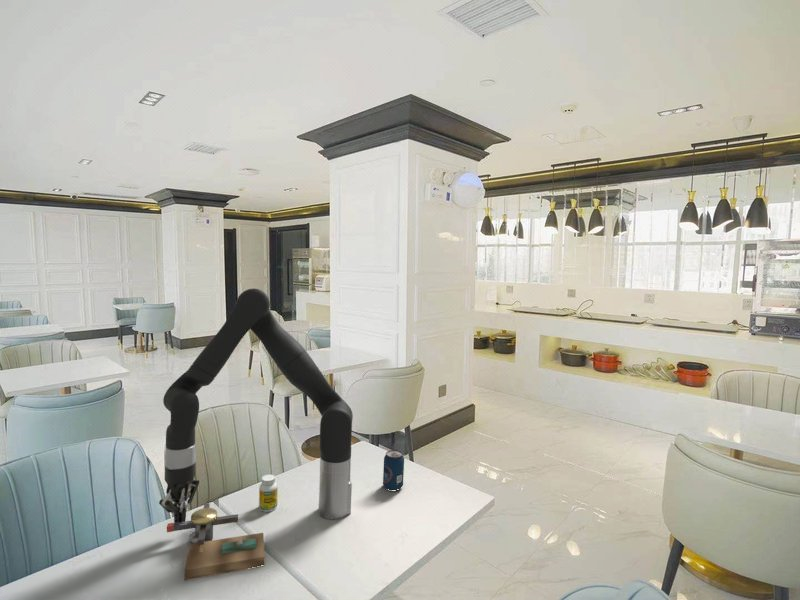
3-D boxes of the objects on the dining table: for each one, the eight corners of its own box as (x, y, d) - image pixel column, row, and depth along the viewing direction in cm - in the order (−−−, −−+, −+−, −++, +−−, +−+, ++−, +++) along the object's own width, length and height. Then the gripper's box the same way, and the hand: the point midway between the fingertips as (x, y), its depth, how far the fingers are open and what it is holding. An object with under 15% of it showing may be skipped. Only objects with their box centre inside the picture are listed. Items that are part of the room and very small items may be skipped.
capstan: (238, 517, 128) (238, 494, 127) (237, 554, 112) (237, 528, 112) (172, 526, 122) (172, 502, 122) (161, 566, 106) (161, 539, 106)
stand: (263, 541, 118) (263, 524, 118) (264, 566, 109) (264, 548, 108) (189, 553, 112) (189, 535, 112) (184, 580, 103) (184, 561, 102)
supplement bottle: (274, 501, 138) (274, 471, 137) (279, 509, 133) (280, 479, 133) (256, 505, 135) (257, 475, 134) (261, 514, 130) (262, 483, 130)
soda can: (378, 485, 150) (380, 451, 149) (395, 480, 154) (396, 447, 154) (390, 494, 145) (391, 459, 144) (407, 489, 149) (408, 454, 148)
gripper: (185, 449, 124) (185, 507, 126) (149, 470, 112) (149, 534, 113) (208, 453, 123) (208, 512, 124) (174, 474, 110) (174, 540, 111)
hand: (179, 522), depth 118 cm, fingers closed
